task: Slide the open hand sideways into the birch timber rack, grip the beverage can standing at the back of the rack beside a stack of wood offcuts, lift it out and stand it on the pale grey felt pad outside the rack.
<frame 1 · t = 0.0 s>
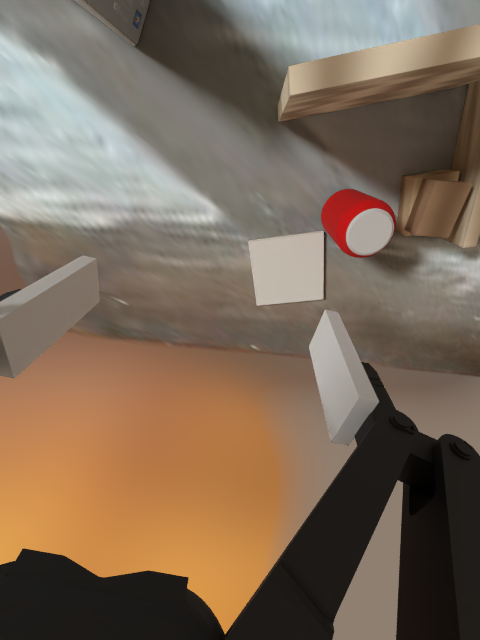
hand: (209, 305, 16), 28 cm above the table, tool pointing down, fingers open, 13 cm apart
offcut upper: (429, 206, 34), point 3 cm above the table, touching offcut lower
rack: (342, 212, 39), on the table
offcut lower: (417, 201, 37), on the table, touching offcut upper
felt pad: (287, 270, 44), on the table
beverage can: (341, 212, 39), on the table
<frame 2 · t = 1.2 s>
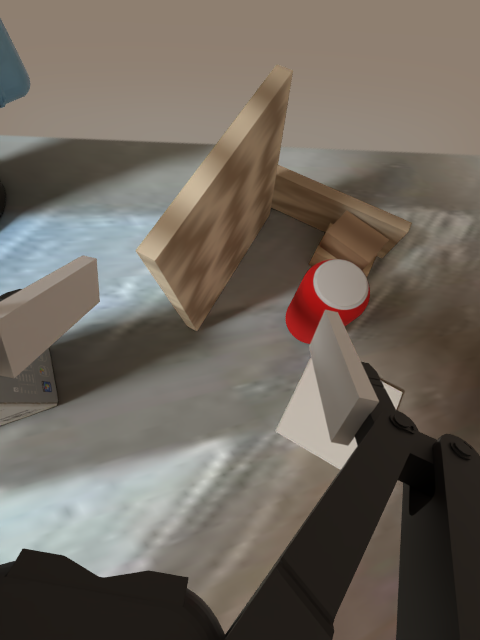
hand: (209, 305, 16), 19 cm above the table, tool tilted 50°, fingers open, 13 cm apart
offcut upper: (347, 249, 34), point 3 cm above the table, touching offcut lower
rack: (308, 322, 35), on the table
offcut lower: (338, 262, 38), on the table, touching offcut upper
felt pad: (338, 411, 32), on the table
beverage can: (307, 322, 35), on the table
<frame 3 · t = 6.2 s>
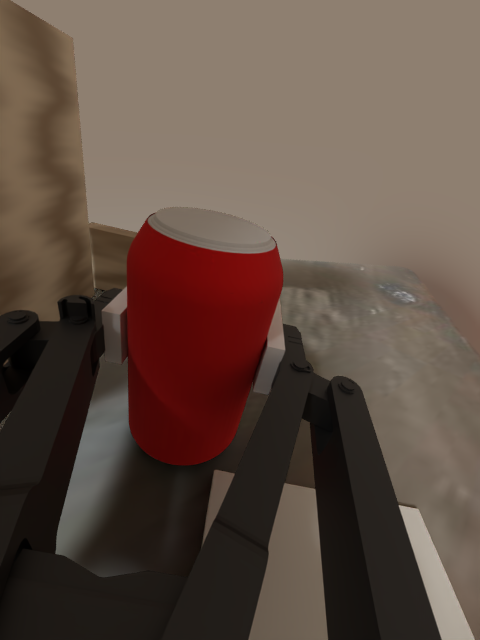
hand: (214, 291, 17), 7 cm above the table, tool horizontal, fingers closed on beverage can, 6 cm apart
rack: (184, 425, 16), on the table
beverage can: (183, 427, 17), on the table, touching gripper
when the fingers open (8 cm above the table, at t = 11.4 s): beverage can stays where it is, resting on felt pad.
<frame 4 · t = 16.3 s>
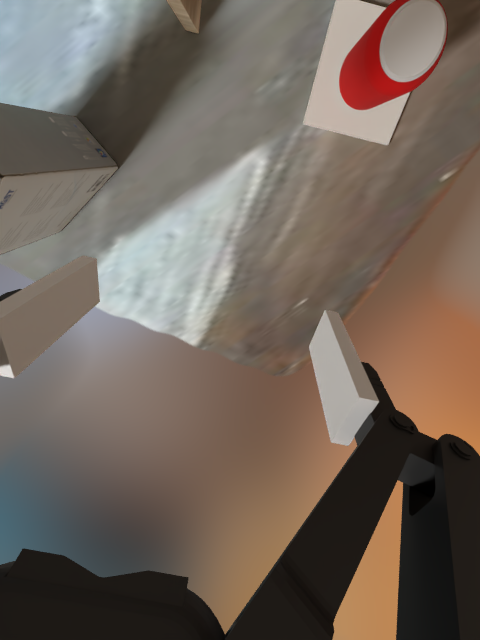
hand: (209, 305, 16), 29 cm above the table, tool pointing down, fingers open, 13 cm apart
felt pad: (363, 78, 32), on the table
hard drive box: (68, 180, 40), on the table
beverage can: (364, 78, 31), resting on felt pad
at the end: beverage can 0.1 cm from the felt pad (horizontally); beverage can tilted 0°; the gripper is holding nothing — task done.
